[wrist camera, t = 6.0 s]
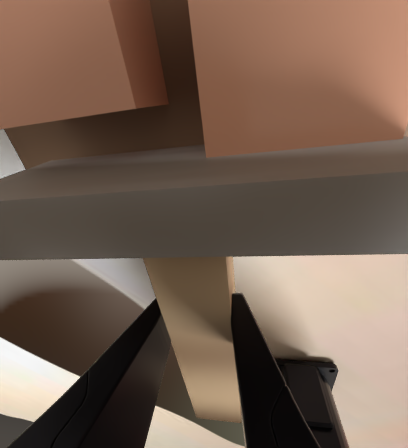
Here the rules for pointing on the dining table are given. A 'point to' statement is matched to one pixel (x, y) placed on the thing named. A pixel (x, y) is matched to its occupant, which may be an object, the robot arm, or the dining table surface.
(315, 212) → the scraper
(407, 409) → the dining table surface
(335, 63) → the tan square block
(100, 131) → the board
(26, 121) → the tile
